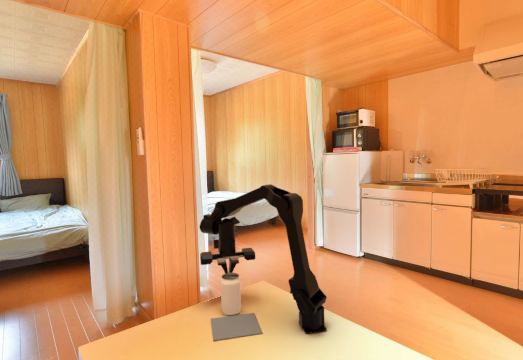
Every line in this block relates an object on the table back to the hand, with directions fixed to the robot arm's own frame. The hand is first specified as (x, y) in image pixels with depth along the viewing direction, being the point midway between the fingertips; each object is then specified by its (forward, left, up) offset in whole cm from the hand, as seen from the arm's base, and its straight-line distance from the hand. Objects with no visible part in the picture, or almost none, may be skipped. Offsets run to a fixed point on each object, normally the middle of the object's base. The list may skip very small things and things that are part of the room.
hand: (228, 279), depth 108 cm
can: (0, +7, -8) cm, 11 cm away
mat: (0, +16, -8) cm, 18 cm away
